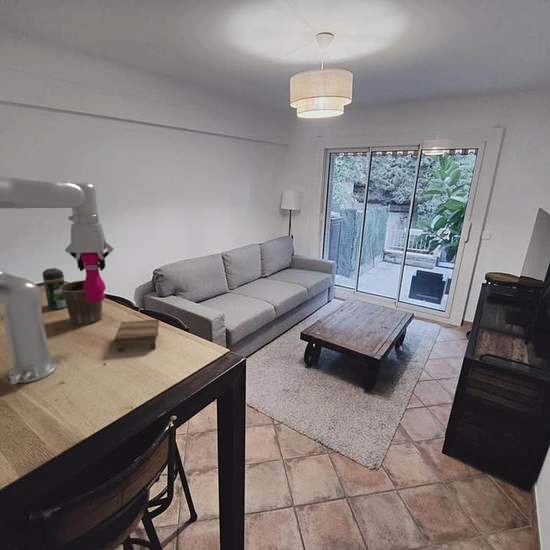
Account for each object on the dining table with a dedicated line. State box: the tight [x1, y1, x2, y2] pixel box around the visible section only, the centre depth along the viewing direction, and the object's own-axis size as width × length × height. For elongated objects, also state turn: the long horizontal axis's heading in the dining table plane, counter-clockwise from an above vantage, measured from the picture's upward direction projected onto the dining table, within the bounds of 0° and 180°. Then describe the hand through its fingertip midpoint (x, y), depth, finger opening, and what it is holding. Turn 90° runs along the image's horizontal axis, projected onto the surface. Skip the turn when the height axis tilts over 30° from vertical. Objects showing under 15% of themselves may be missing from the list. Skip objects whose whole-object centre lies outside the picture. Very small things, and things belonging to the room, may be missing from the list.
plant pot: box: [60, 279, 103, 326], centre depth 140 cm, size 16×16×16 cm
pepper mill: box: [81, 253, 106, 302], centre depth 117 cm, size 7×7×20 cm
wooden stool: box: [113, 319, 160, 353], centre depth 124 cm, size 14×14×6 cm
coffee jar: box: [42, 267, 67, 310], centre depth 152 cm, size 10×8×19 cm
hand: (92, 269), depth 116 cm, fingers closed on pepper mill, 5 cm apart
